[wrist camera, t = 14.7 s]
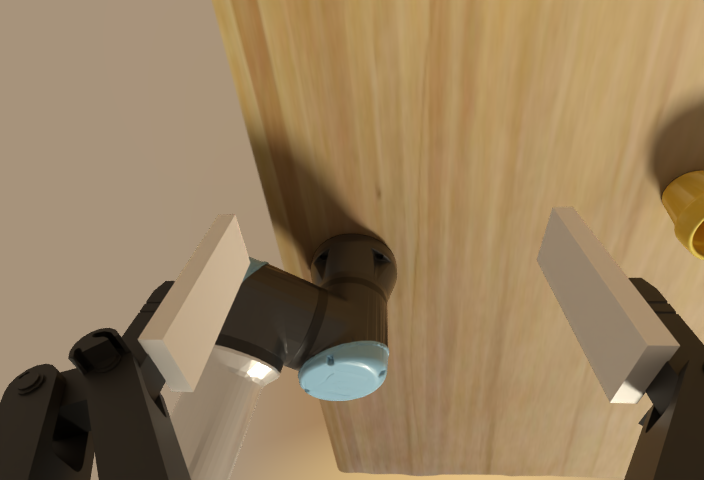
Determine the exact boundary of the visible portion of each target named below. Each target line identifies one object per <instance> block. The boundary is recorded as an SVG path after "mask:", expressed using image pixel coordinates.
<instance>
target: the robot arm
mask: <svg viewBox="0 0 704 480" xmlns="http://www.w3.org/2000/svg"><path fill="white" fill-rule="evenodd" d="M537 261H538V263H539V265H540V267H541V269H542V271H543V273H544V275H545V277H546V279H547V281H548V283H549V285H550V287H551V289H552V291H553V293H554V295H555V297H556V298H557V300H558V302H559V304H560V306H561V308H562V310H563V312H564V314H565V316H566V318H567V320H568V322H569V324H570V326H571V328H572V330H573V332H574V333H575V335H576V337H577V339H578V341H579V343H580V345H581V347H582V349H583V351H584V353H585V355H586V357H587V359H588V361H589V363H590V365H591V367H592V369H593V370H594V372H595V374H596V376H597V378H598V380H599V382H600V384H601V386H602V388H603V390H604V392H605V394H606V396H607V398H608V400H609V402H610V403H638V402H639V400H640V399H641V398H642V396H643V395H644V394H645V392H646V393H647V395H648V396H649V398H650V400H651V401H652V403H653V405H652V407H651V408H650V409H649V410H648V412H647V413H646V414H645V415H644V417H643V418H642V419H641V421H640V422H639V423H638V424H640V425H642V426H643V428H642V431H641V434H640V436H639V439H638V442H637V445H636V448H635V451H634V453H633V456H632V459H631V462H630V465H629V468H628V470H627V473H626V476H625V479H624V480H704V345H703V343H702V342H701V341H700V340H699V339H698V337H697V336H696V335H695V334H694V333H693V331H692V330H691V329H690V328H689V327H688V325H687V324H686V323H685V322H684V321H683V319H682V318H681V317H680V316H679V315H678V314H676V311H675V310H674V309H673V308H672V306H671V305H670V304H668V303H667V300H666V299H665V298H664V297H663V296H662V294H661V293H660V292H659V291H658V290H657V289H656V288H655V287H654V286H652V285H651V284H649V283H648V282H646V281H645V280H643V279H642V278H628V277H627V276H626V275H625V273H624V272H623V271H622V270H621V268H620V267H619V266H618V264H617V263H616V262H615V261H614V259H613V258H612V257H611V255H610V254H609V253H608V251H607V250H606V249H605V248H604V246H603V245H602V244H601V242H600V241H599V240H598V239H597V237H596V236H595V235H594V233H593V232H592V231H591V229H590V228H589V227H588V226H587V224H586V223H585V222H584V220H583V219H582V218H581V216H580V215H579V214H578V213H577V211H576V210H575V209H574V207H553V208H552V211H551V214H550V218H549V221H548V224H547V228H546V231H545V234H544V237H543V241H542V244H541V247H540V251H539V254H538V257H537ZM311 278H312V283H310V282H308V281H306V280H304V279H301V278H299V277H297V276H295V275H292V274H290V273H288V272H286V271H283V270H281V269H279V268H277V267H274V266H272V265H270V264H269V263H268V262H261V261H259V260H256V259H254V258H251V257H248V253H247V250H246V247H245V244H244V241H243V238H242V234H241V231H240V228H239V225H238V221H237V218H236V215H235V214H229V215H228V214H227V215H218V216H217V218H216V219H215V221H214V222H213V224H212V226H211V227H210V228H209V230H208V232H207V233H206V235H205V236H204V238H203V239H202V241H201V242H200V244H199V245H198V247H197V249H196V250H195V252H194V253H193V255H192V256H191V258H190V259H189V261H188V262H187V264H186V266H185V267H184V269H183V270H182V272H181V273H180V275H179V276H178V278H177V279H176V281H165V282H164V283H163V284H162V285H161V286H159V287H158V288H157V289H156V290H154V292H153V293H152V294H151V296H150V297H149V299H148V300H147V303H146V304H145V305H144V306H143V307H142V309H141V310H140V313H138V315H137V316H136V318H135V319H134V320H133V322H132V323H131V325H130V326H129V328H128V329H127V330H126V332H125V333H124V335H123V336H122V338H121V336H120V335H119V333H118V332H117V331H116V330H115V329H111V328H103V329H99V330H96V331H93V332H91V333H89V334H87V335H86V336H84V337H82V338H81V339H80V340H79V341H78V342H77V343H75V345H74V346H73V347H72V349H71V351H70V353H69V360H70V361H71V362H72V363H73V364H74V365H75V366H76V369H72V370H68V371H64V372H61V373H60V372H59V371H58V370H57V369H56V368H55V367H54V366H53V365H50V364H43V365H38V366H35V367H33V368H30V369H28V370H26V371H25V372H23V373H22V374H20V375H19V376H17V377H16V378H15V379H14V380H13V381H12V382H11V383H10V384H9V386H8V387H7V389H6V390H5V392H4V395H3V397H2V400H1V402H0V480H90V478H91V471H92V465H93V458H94V452H95V457H96V464H97V470H98V477H99V480H229V479H230V476H231V473H232V470H233V467H234V465H235V462H236V459H237V457H238V454H239V451H240V448H241V445H242V443H243V440H244V437H245V434H246V431H247V428H248V426H249V423H250V420H251V418H252V415H253V412H254V409H255V406H256V404H257V401H258V398H259V395H260V392H261V390H262V388H263V387H264V386H265V385H266V384H268V383H270V382H272V381H274V380H275V379H277V378H278V377H279V375H280V372H281V370H282V367H283V365H284V366H287V367H290V368H292V369H295V370H298V371H299V373H298V378H299V383H300V386H301V387H302V388H303V389H304V390H305V392H306V393H308V394H309V395H311V396H313V397H316V398H319V399H323V400H330V401H346V400H352V399H357V398H361V397H364V396H366V395H368V394H370V393H372V392H374V391H375V390H376V389H377V388H379V387H380V386H381V384H382V383H383V382H384V380H385V377H386V374H387V365H388V356H389V349H388V323H387V302H388V299H389V297H390V295H391V293H392V290H393V288H394V286H395V283H396V279H397V265H396V260H395V258H394V255H393V254H392V252H391V251H390V250H389V249H388V247H386V246H385V245H384V244H383V243H381V242H380V241H378V240H376V239H374V238H372V237H369V236H365V235H359V234H345V235H340V236H336V237H333V238H331V239H329V240H327V241H326V242H324V243H323V244H322V245H321V246H320V247H319V248H318V249H317V250H316V252H315V254H314V256H313V260H312V265H311ZM165 382H166V383H167V385H168V386H169V388H170V390H171V391H172V392H181V394H180V396H179V398H178V400H177V402H176V404H175V407H174V409H173V411H172V413H171V415H170V416H169V413H168V410H167V407H166V404H165V401H164V398H163V396H162V395H161V393H160V391H161V389H162V387H163V385H164V384H165Z"/></svg>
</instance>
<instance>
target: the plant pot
mask: <svg viewBox="0 0 704 480" xmlns="http://www.w3.org/2000/svg"><path fill="white" fill-rule="evenodd" d="M662 203H663V205H664V207H665V209H666V210H667V212H668V214H669V216H670V217H671V219H672V221H673V223H674V225H675V229H674V230H675V235H676V237H677V239H678V240H679V241H680V242H681V243H682V244H683V246H684V247H685V248H686V249H687V250H688V251H690V252H691V253H692V254H693V255H694V256H695V257H697V258H699V259H702V260H704V171H693V172H689V173H686V174H684V175H682V176H680V177H678V178H676V179H675V180H674V181H672V182H671V183H670V184H669V185H668V186H667V187H666V189H665V190H664V192H663V195H662Z"/></svg>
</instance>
